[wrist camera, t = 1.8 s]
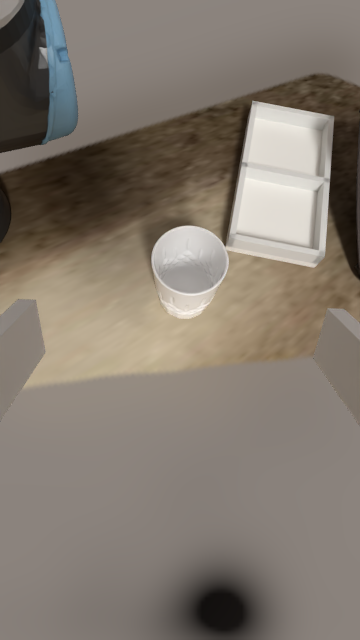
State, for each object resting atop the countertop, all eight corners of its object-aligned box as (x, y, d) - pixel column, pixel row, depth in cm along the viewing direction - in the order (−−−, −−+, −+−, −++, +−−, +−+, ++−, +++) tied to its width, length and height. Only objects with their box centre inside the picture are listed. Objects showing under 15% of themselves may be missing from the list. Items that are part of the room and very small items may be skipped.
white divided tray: (224, 249, 44) (228, 238, 41) (247, 118, 51) (252, 100, 48) (314, 267, 43) (324, 257, 40) (324, 133, 51) (334, 116, 48)
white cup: (180, 257, 43) (184, 212, 33) (226, 292, 42) (243, 255, 32) (142, 298, 41) (134, 262, 31) (188, 335, 40) (195, 310, 30)
